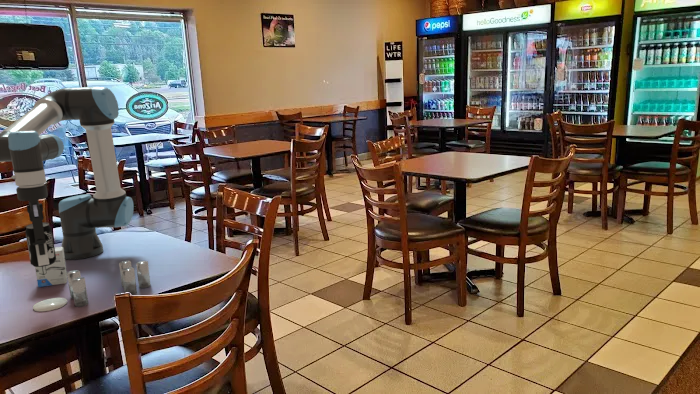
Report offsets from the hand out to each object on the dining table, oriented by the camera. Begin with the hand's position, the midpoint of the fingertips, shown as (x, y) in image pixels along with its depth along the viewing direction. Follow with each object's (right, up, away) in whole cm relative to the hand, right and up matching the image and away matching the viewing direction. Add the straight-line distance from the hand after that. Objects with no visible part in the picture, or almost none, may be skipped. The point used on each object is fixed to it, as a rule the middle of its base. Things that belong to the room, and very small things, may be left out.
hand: (43, 261), depth 153 cm
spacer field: (+15, -11, +11) cm, 22 cm away
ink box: (-9, -10, +21) cm, 25 cm away
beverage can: (0, -1, 0) cm, 1 cm away
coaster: (0, -14, +3) cm, 14 cm away
